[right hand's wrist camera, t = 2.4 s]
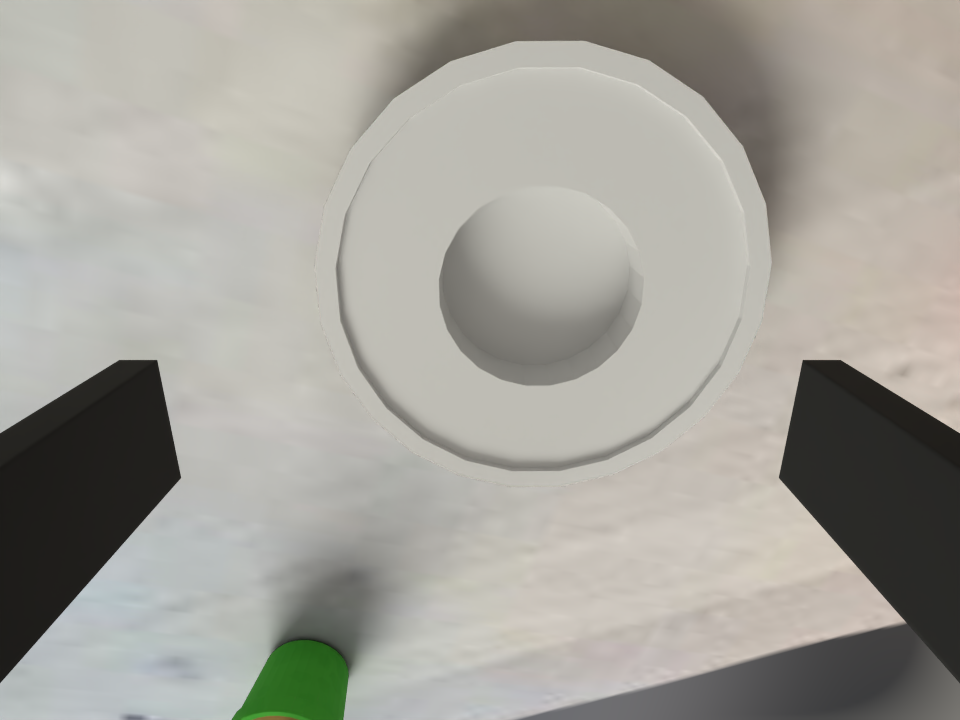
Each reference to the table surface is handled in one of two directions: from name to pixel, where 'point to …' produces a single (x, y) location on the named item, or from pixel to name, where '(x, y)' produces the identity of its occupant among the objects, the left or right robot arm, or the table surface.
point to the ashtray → (543, 263)
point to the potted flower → (299, 685)
